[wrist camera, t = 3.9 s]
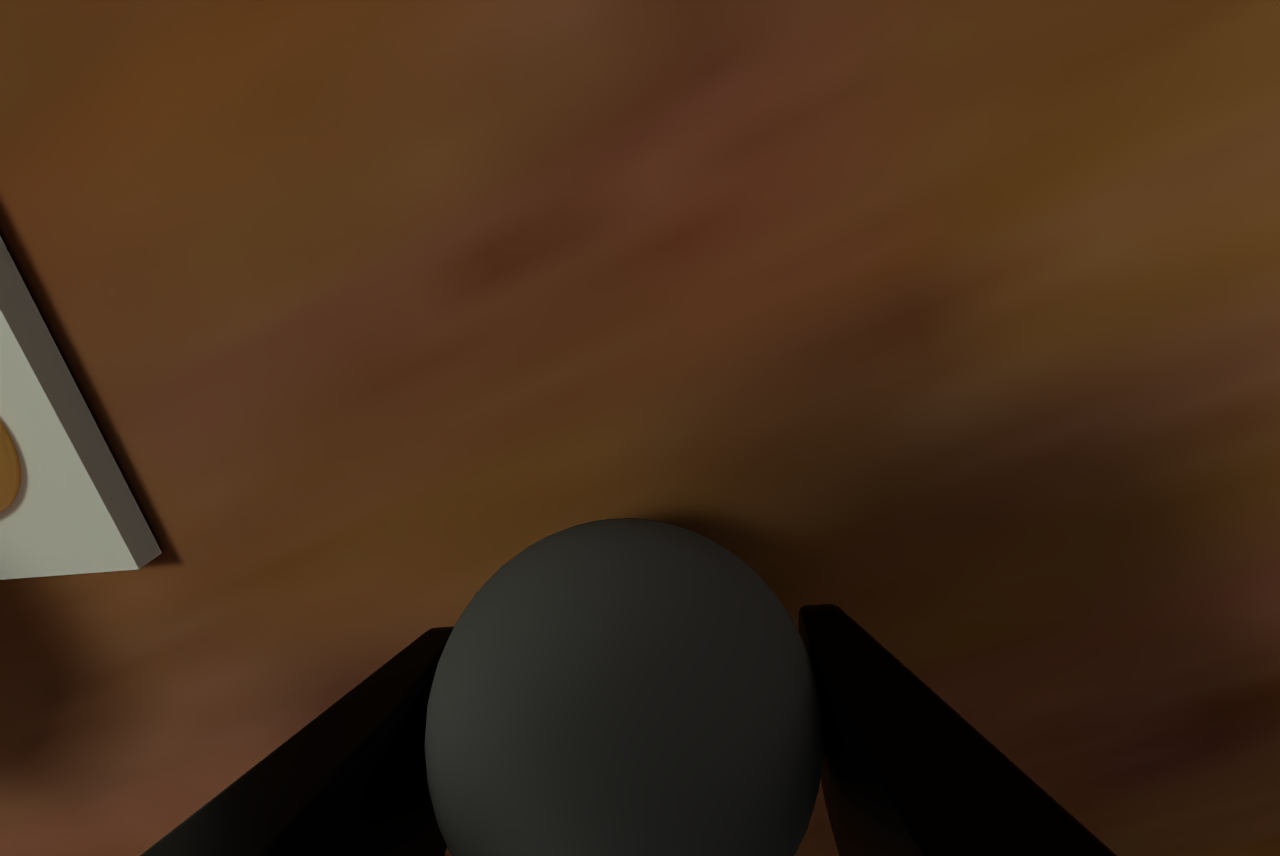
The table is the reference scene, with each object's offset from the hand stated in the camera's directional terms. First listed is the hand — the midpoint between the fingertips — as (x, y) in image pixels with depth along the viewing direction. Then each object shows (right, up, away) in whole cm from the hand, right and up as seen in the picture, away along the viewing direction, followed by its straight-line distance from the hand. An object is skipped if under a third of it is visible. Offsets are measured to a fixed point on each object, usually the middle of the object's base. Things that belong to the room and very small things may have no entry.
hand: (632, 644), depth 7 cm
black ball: (0, 0, -1) cm, 1 cm away
